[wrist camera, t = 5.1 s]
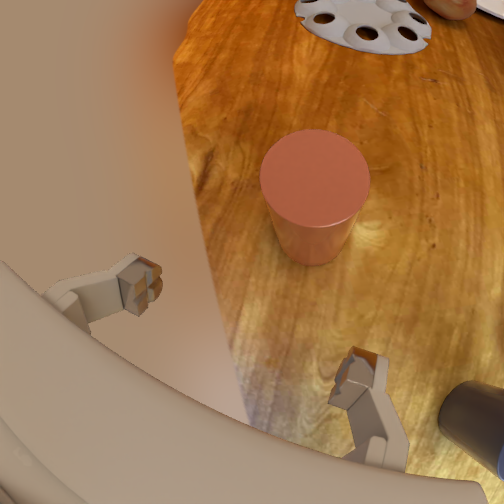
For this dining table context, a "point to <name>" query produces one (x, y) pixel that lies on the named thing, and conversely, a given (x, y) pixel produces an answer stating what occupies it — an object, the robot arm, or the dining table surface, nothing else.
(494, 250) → the dining table surface
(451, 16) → the onion
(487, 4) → the plate
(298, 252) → the terracotta canister
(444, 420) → the slate-blue canister
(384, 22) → the grey disc with holes
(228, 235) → the dining table surface
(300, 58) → the dining table surface
